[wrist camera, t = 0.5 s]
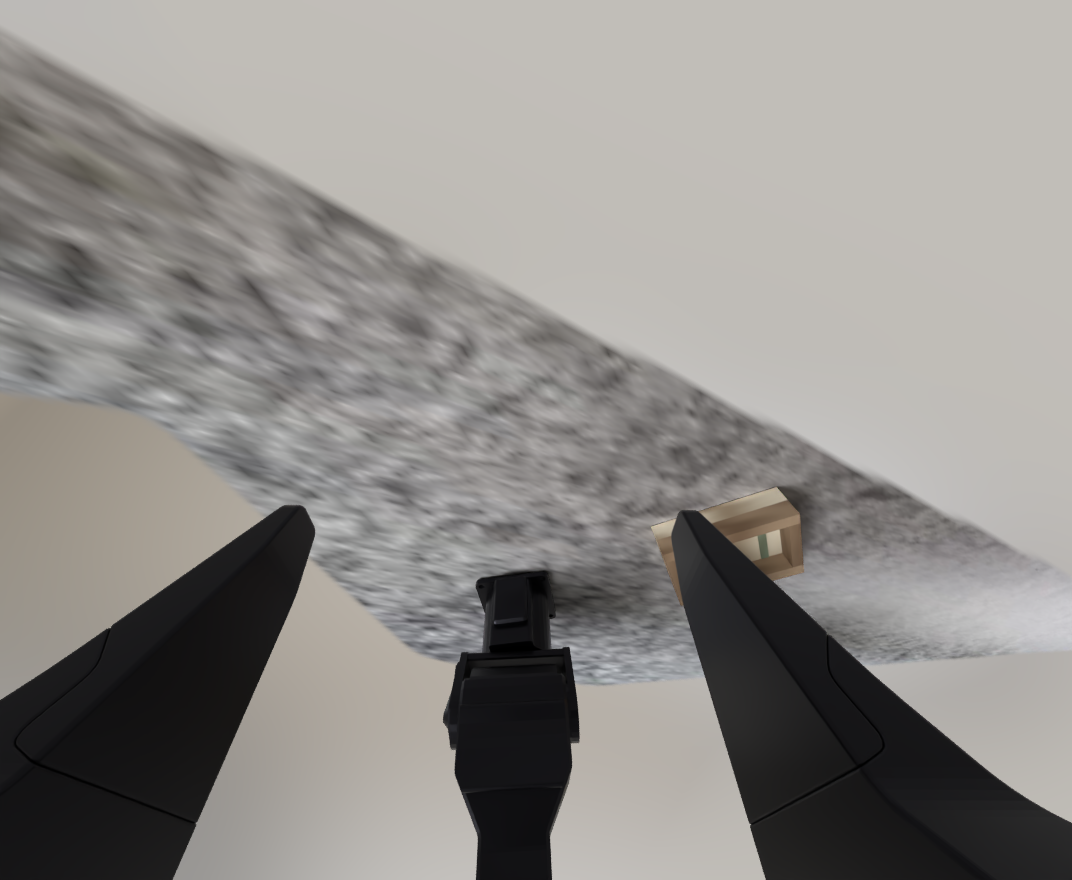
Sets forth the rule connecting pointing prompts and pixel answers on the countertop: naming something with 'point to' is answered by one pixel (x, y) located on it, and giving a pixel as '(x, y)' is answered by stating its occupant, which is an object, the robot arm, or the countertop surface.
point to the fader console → (749, 534)
